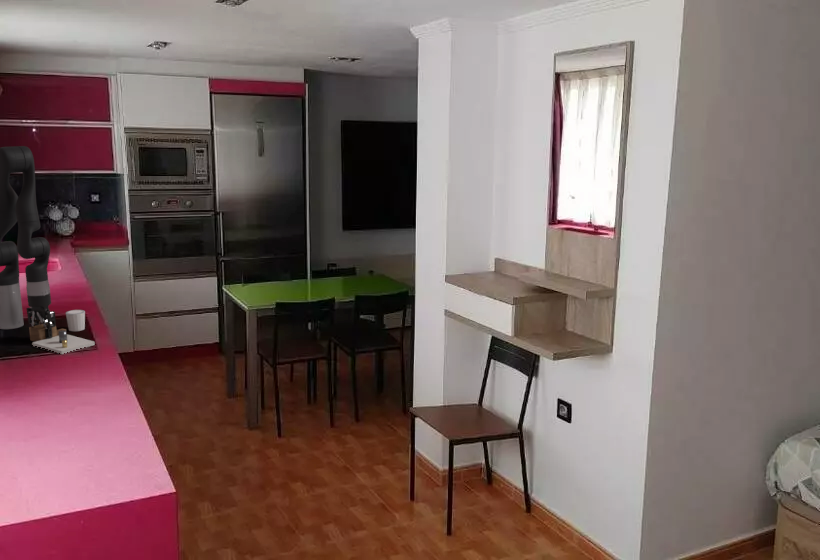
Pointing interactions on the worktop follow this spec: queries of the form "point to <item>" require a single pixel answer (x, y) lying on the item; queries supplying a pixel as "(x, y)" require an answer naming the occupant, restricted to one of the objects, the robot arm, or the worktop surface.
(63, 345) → the dowel
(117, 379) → the worktop surface
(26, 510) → the worktop surface
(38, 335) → the open wooden box
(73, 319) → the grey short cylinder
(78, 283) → the worktop surface
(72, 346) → the board
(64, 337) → the post
